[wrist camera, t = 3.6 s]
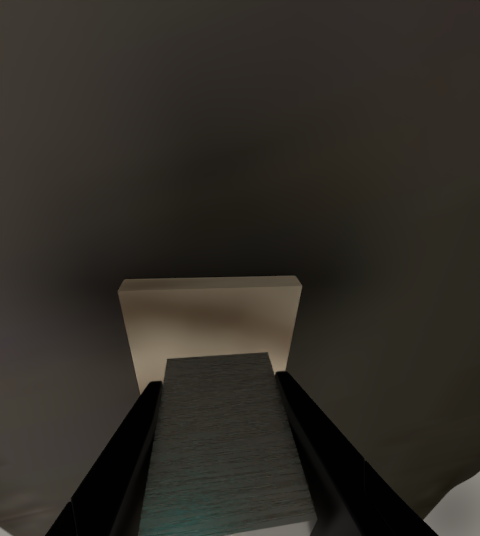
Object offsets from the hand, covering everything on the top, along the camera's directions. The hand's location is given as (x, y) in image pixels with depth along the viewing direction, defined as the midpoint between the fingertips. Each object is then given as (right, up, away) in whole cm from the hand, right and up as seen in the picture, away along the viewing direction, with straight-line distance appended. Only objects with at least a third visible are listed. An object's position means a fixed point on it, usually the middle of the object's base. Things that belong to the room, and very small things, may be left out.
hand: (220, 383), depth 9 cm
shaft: (0, -5, +4) cm, 7 cm away
